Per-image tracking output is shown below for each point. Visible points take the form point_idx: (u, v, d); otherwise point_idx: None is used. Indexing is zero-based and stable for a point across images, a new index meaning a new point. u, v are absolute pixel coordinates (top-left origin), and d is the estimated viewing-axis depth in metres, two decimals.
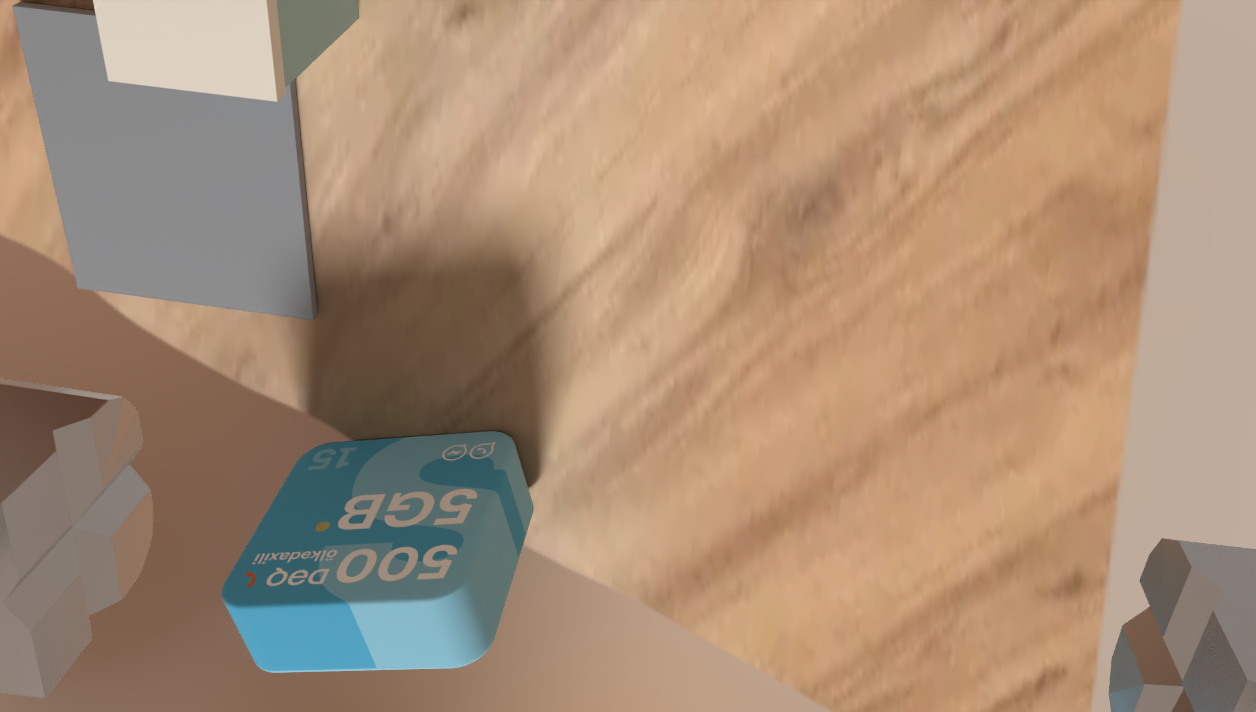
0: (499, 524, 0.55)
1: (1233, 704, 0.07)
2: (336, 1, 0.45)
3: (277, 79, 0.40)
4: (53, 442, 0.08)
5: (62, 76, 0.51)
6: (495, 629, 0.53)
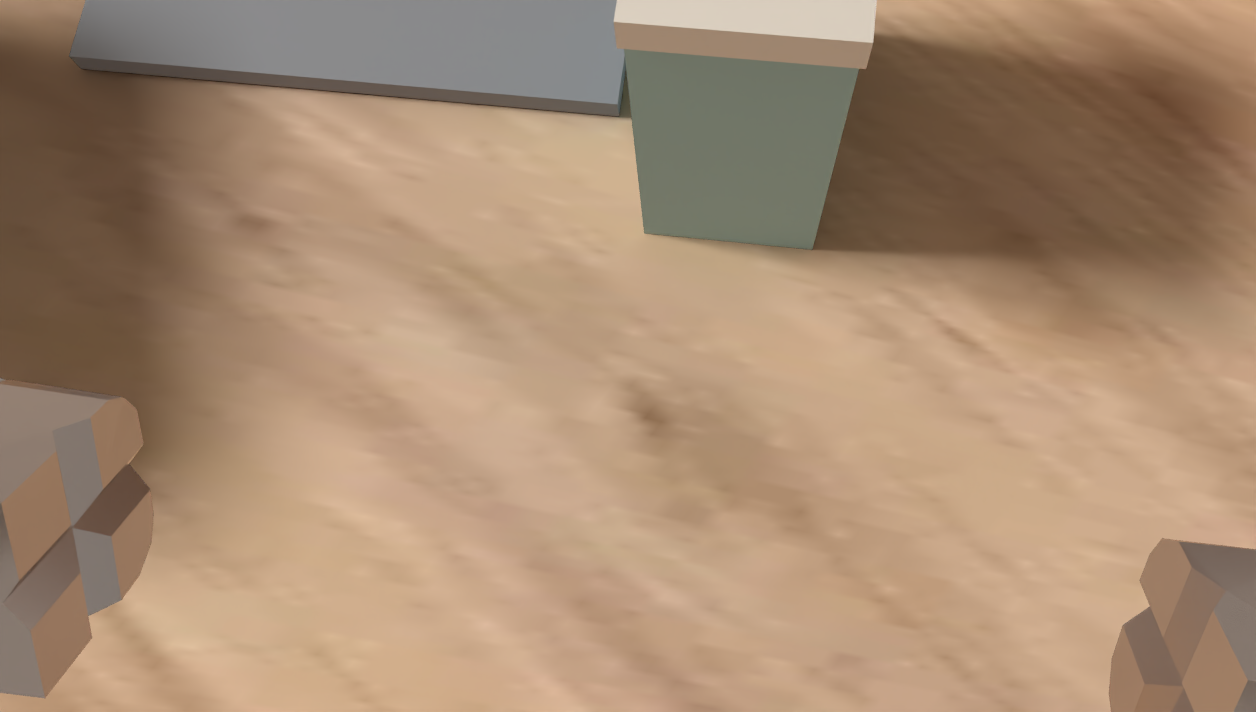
0: None
1: (1233, 704, 0.07)
2: (704, 195, 0.25)
3: (658, 32, 0.19)
4: (53, 442, 0.08)
5: None
6: None
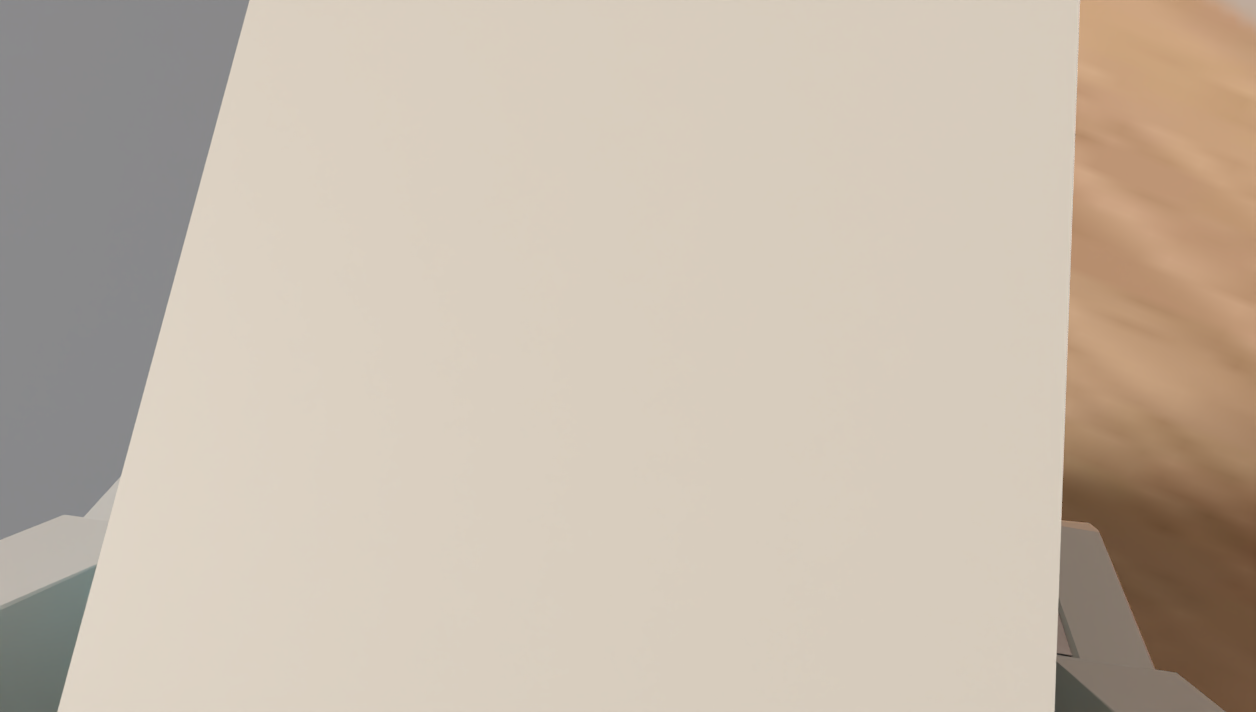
0: None
1: None
2: None
3: None
4: None
5: None
6: None
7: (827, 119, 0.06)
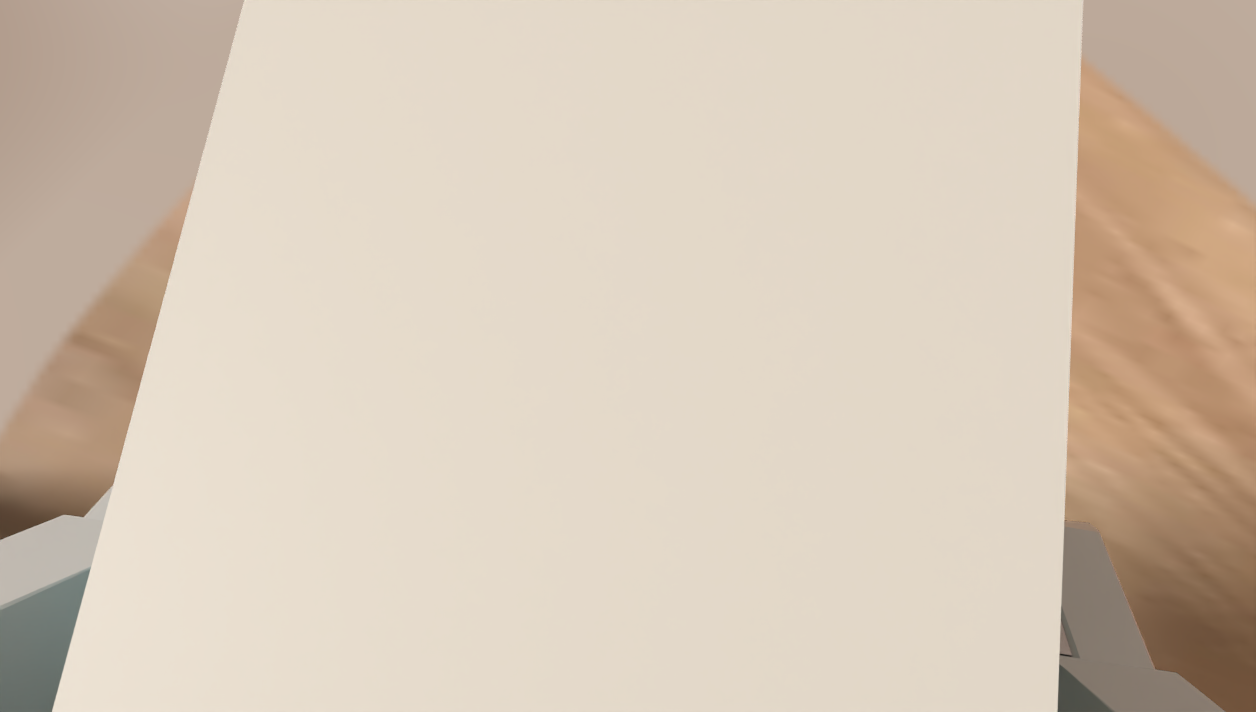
0: None
1: None
2: None
3: None
4: None
5: None
6: None
7: (829, 111, 0.06)
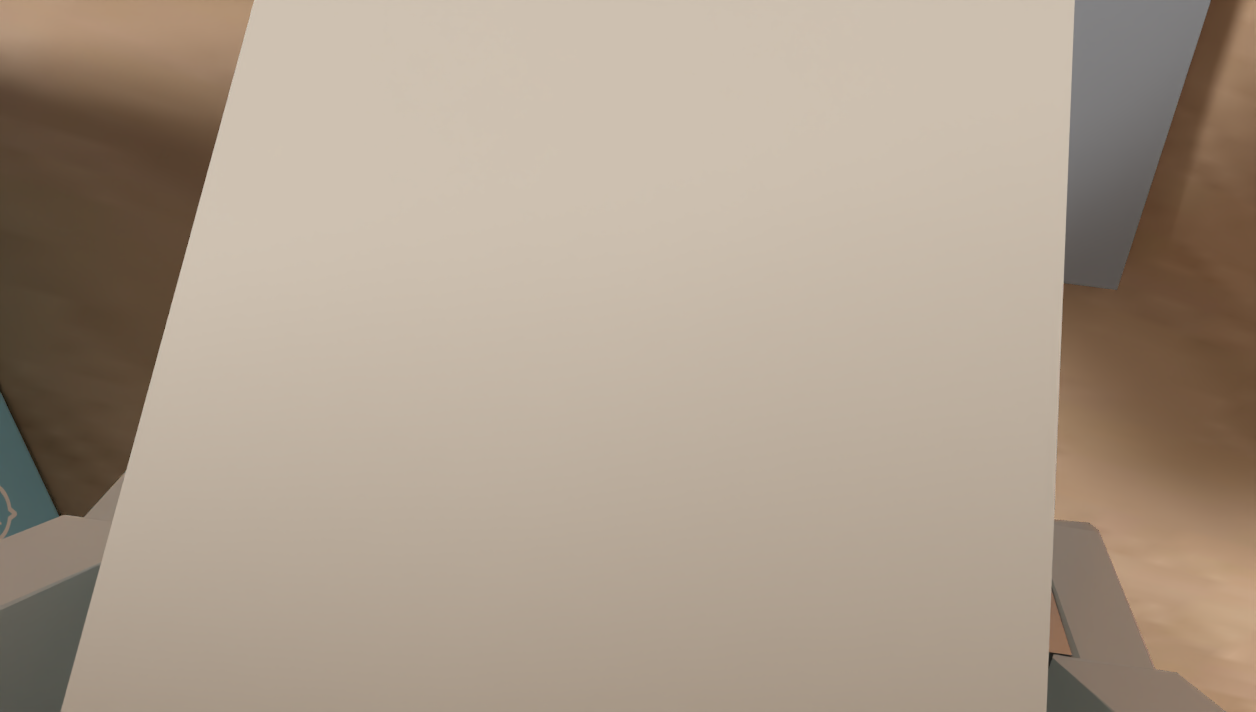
0: None
1: None
2: None
3: None
4: None
5: None
6: None
7: (821, 125, 0.06)
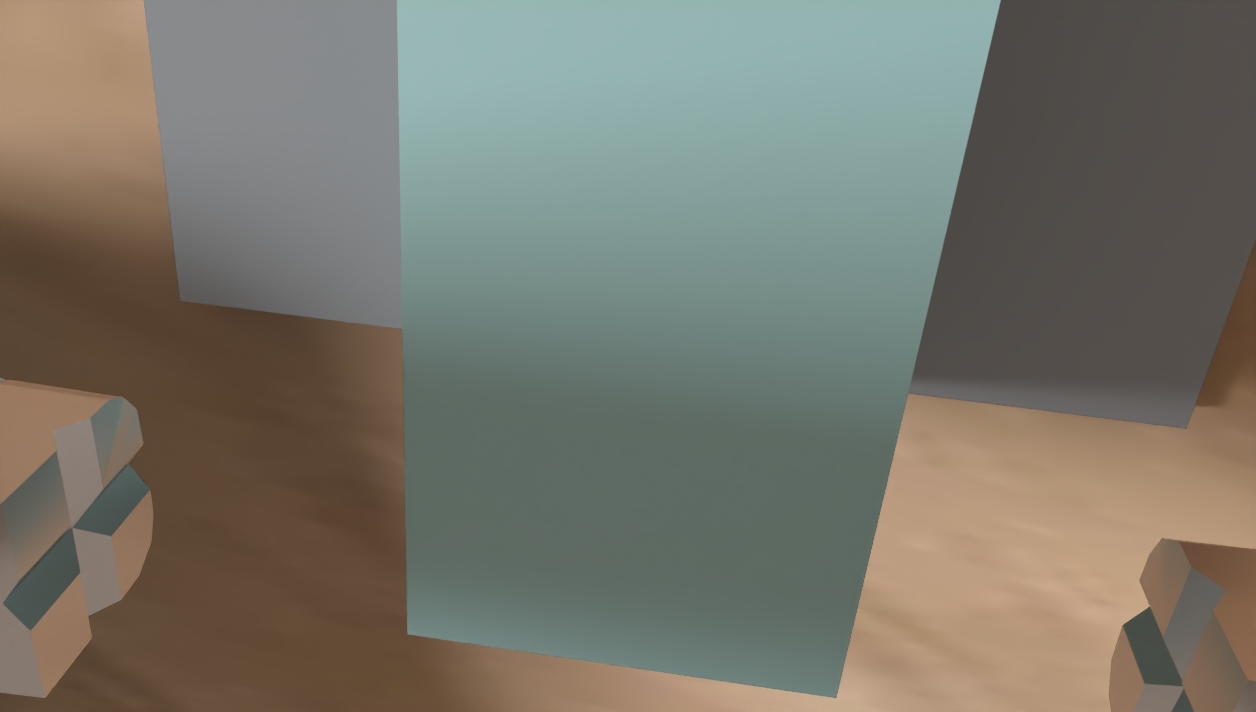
0: None
1: (1233, 704, 0.07)
2: (573, 436, 0.09)
3: None
4: (53, 442, 0.08)
5: None
6: None
7: None
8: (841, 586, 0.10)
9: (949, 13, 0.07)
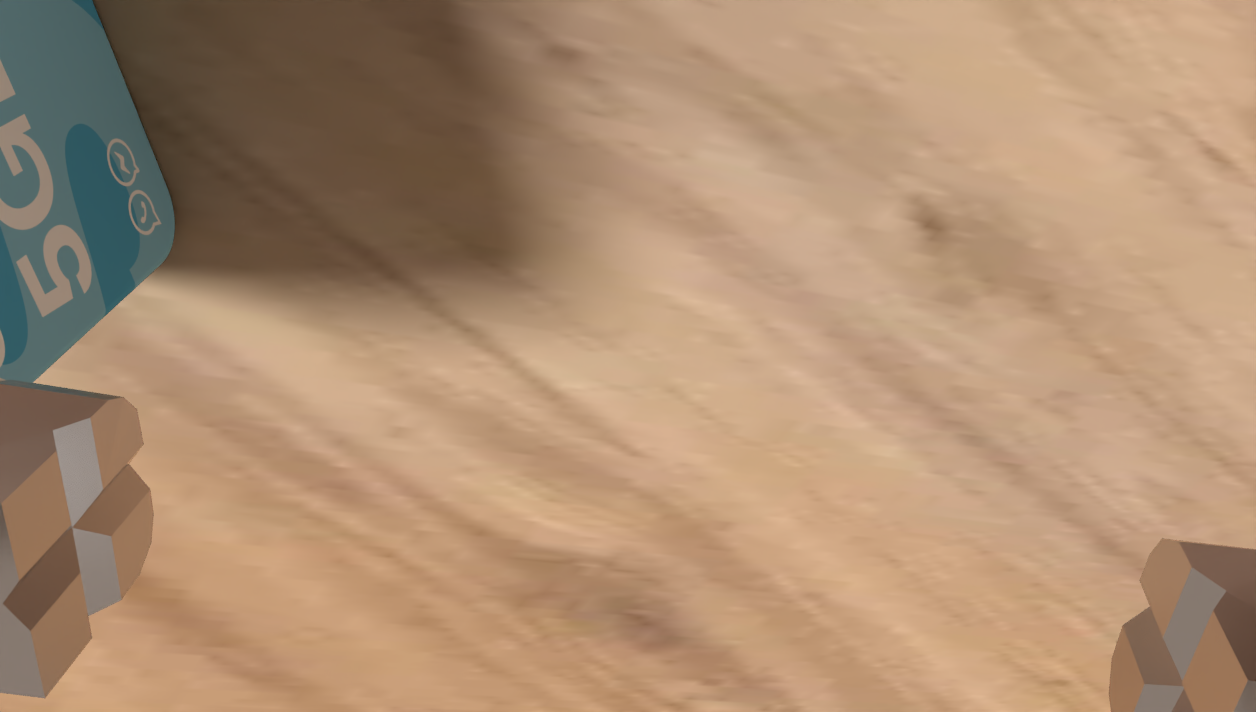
0: None
1: (1233, 704, 0.07)
2: None
3: None
4: (52, 442, 0.08)
5: None
6: None
7: None
8: None
9: None
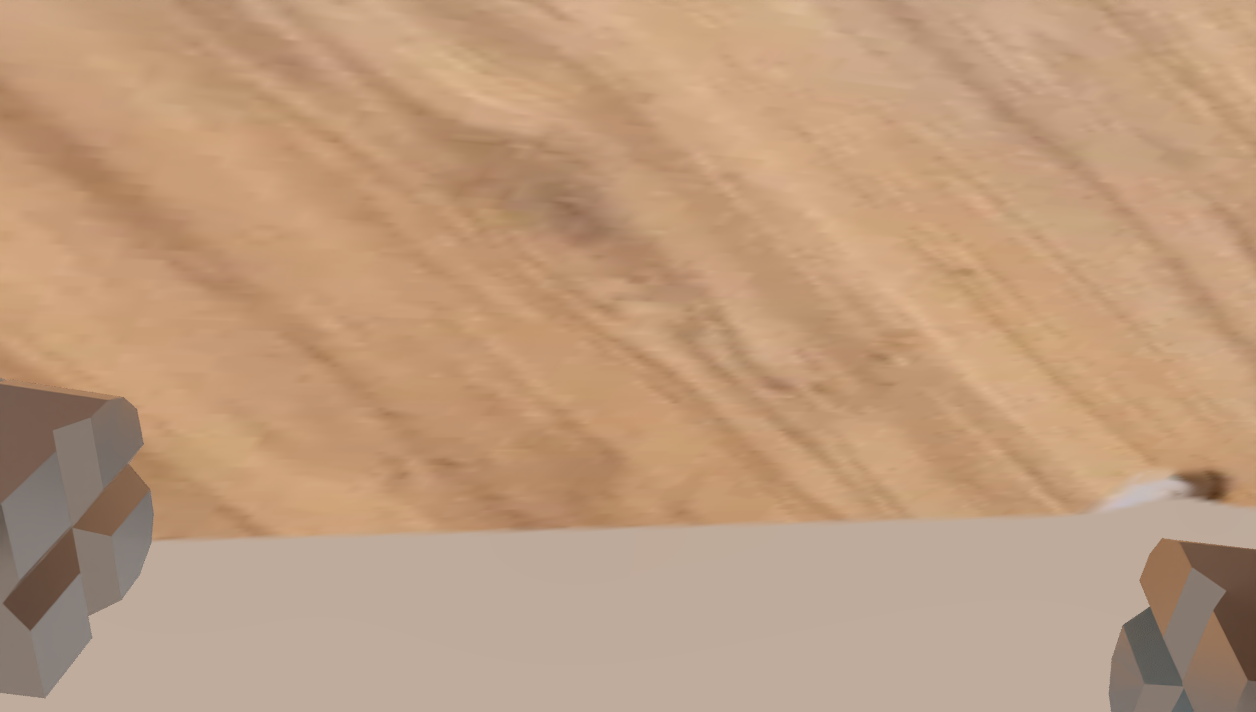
0: None
1: (1233, 704, 0.07)
2: None
3: None
4: (53, 442, 0.08)
5: None
6: None
7: None
8: None
9: None
